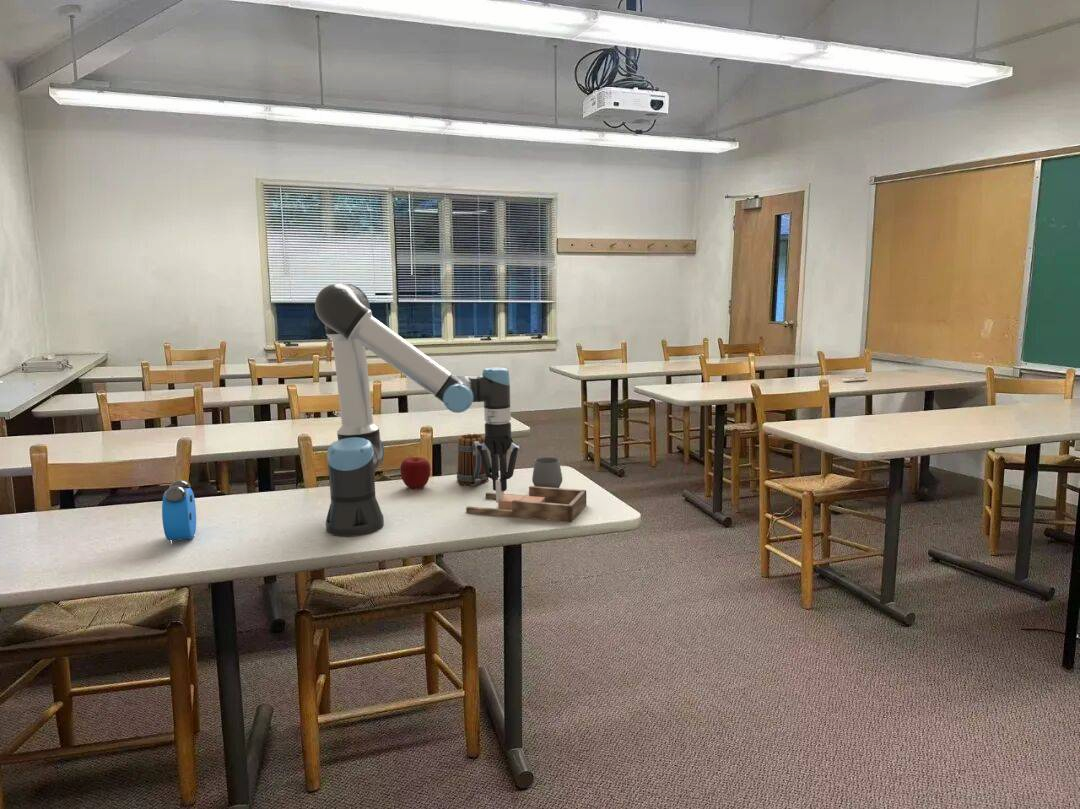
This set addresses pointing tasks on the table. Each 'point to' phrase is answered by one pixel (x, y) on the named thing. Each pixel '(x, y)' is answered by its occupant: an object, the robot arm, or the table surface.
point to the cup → (547, 472)
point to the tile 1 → (508, 501)
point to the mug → (470, 460)
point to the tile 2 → (533, 499)
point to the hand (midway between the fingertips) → (500, 501)
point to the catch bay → (541, 505)
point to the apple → (415, 472)
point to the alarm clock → (179, 511)
